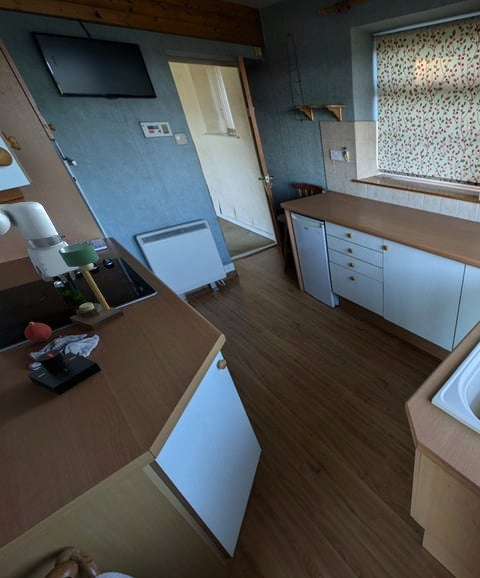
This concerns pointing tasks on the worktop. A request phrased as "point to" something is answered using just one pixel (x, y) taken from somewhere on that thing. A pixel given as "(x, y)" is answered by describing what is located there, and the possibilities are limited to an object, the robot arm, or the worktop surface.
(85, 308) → the lamp switch
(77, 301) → the beer can
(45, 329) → the onion
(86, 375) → the dimmer
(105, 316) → the lamp base
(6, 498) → the worktop surface
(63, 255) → the lamp
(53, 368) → the dimmer knob
